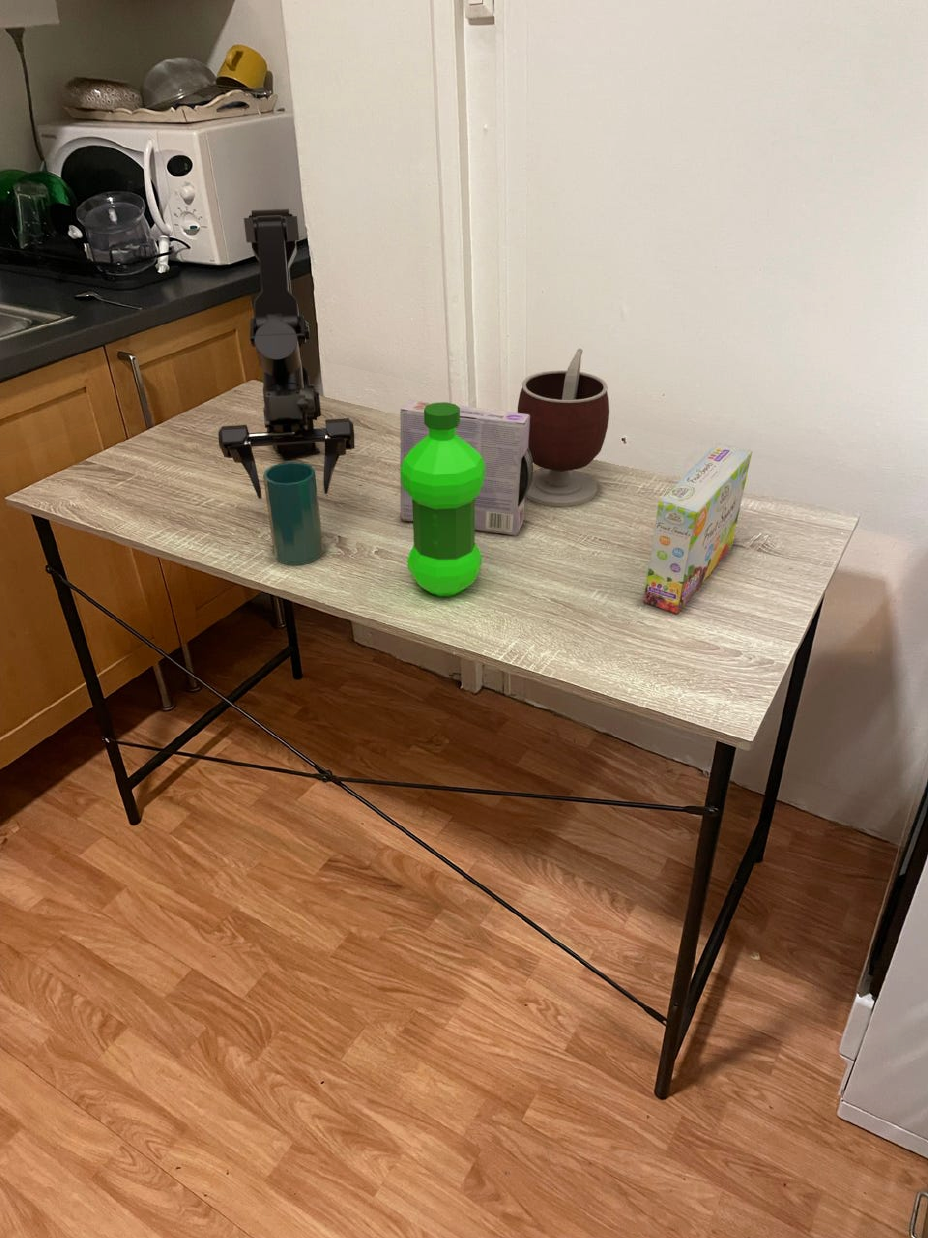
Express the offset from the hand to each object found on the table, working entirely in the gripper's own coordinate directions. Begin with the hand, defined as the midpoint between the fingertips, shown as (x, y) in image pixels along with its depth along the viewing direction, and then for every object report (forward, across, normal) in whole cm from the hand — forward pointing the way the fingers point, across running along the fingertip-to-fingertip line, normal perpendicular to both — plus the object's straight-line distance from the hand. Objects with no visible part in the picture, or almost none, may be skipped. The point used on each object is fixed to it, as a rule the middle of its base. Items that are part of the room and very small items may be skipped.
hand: (293, 495), depth 129 cm
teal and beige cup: (+8, 0, +3) cm, 8 cm away
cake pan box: (+4, +25, +6) cm, 26 cm away
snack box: (+18, +53, -8) cm, 56 cm away
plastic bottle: (+16, +19, -6) cm, 26 cm away
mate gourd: (-2, +42, +13) cm, 44 cm away
